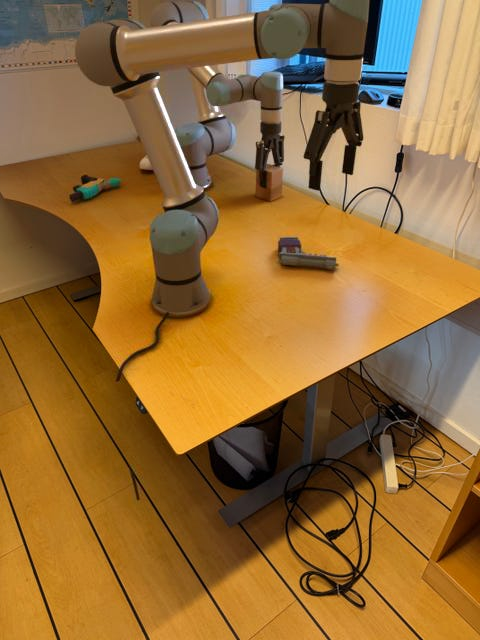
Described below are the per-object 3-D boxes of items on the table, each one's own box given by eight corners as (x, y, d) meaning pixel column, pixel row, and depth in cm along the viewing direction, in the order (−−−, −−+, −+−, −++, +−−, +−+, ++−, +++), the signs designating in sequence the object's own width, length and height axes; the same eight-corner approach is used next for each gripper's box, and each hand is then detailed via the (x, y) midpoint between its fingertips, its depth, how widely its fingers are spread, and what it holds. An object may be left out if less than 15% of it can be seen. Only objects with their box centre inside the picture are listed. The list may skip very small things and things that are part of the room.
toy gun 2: (339, 250, 148) (337, 274, 136) (279, 245, 151) (272, 268, 139) (340, 238, 146) (338, 262, 134) (280, 234, 149) (273, 256, 137)
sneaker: (133, 173, 208) (129, 144, 201) (161, 153, 230) (158, 127, 223) (155, 175, 205) (151, 146, 198) (180, 155, 227) (178, 129, 220)
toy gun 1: (47, 189, 181) (76, 196, 175) (93, 169, 199) (121, 175, 193) (49, 200, 183) (79, 207, 177) (95, 180, 202) (123, 186, 196)
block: (281, 196, 184) (283, 167, 178) (270, 201, 180) (271, 172, 174) (266, 191, 189) (267, 163, 182) (255, 196, 185) (256, 167, 178)
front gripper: (358, 71, 108) (347, 164, 121) (290, 87, 94) (285, 191, 106) (388, 75, 104) (373, 171, 117) (321, 92, 89) (312, 200, 102)
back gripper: (280, 114, 176) (277, 175, 190) (244, 124, 164) (244, 189, 178) (296, 117, 172) (292, 180, 185) (260, 128, 160) (259, 194, 174)
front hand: (331, 181), depth 111 cm, fingers open, 13 cm apart
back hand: (269, 184), depth 182 cm, fingers closed on block, 7 cm apart
